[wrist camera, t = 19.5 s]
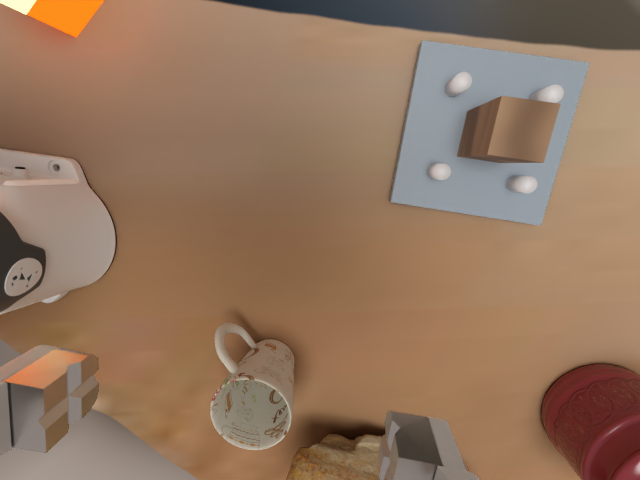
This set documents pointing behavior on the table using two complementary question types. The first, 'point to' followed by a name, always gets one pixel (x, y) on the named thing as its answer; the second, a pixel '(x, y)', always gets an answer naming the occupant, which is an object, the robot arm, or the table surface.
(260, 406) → the mug
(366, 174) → the table surface
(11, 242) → the robot arm
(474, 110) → the walnut block
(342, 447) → the rough brown rock
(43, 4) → the orange juice
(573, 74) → the peg seat
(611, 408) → the canister
